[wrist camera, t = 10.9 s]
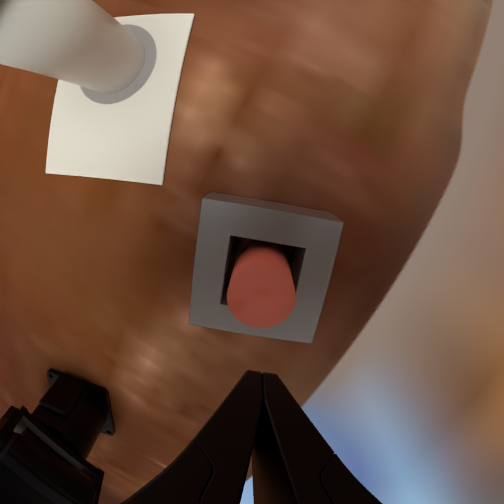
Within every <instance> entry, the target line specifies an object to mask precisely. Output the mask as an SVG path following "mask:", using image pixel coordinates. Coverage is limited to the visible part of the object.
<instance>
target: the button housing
mask: <svg viewBox="0 0 504 504" xmlns="http://www.w3.org/2000/svg"><path fill="white" fill-rule="evenodd" d="M343 224H344V223H343V222H342V221H341V220H340V219H338V218H337V217H336V216H335V215H333V214H332V213H331V212H326V211H321V210H316V209H310V208H305V207H300V206H295V205H289V204H284V203H278V202H272V201H267V200H261V199H255V198H249V197H243V196H237V195H230V194H224V193H217V192H211V193H209V194H208V195H206V196H205V197H203V198H202V205H201V212H200V220H199V228H198V236H197V244H196V253H195V262H194V271H193V281H192V291H191V302H190V313H189V324H191V325H196V326H201V327H207V328H212V329H218V330H223V331H229V332H235V333H241V334H248V335H254V336H261V337H267V338H274V339H281V340H289V341H297V342H305V343H312V340H313V337H314V334H315V331H316V327H317V324H318V320H319V317H320V313H321V310H322V306H323V303H324V299H325V296H326V292H327V288H328V285H329V281H330V277H331V273H332V269H333V265H334V261H335V257H336V253H337V249H338V245H339V241H340V237H341V232H342V228H343ZM233 236H237V237H243V238H249V239H255V240H261V241H267V242H273V243H279V244H285V245H290V246H296V247H297V248H296V253H295V257H294V262H293V266H292V271H291V275H292V279H293V284H294V288H295V293H296V301H295V305H294V308H293V310H292V312H291V313H290V315H289V316H288V317H287V318H286V319H285V320H284V321H282V322H281V323H279V324H277V325H275V326H272V327H267V328H255V327H251V326H248V325H246V324H244V323H242V322H240V321H239V320H238V319H237V318H236V317H235V316H234V315H233V314H232V312H231V311H230V309H229V306H228V302H227V291H228V287H229V283H226V281H227V274H228V268H229V261H230V254H231V248H232V241H233Z"/></svg>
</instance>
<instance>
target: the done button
mask: <svg viewBox="0 0 504 504" xmlns="http://www.w3.org/2000/svg"><path fill="white" fill-rule="evenodd" d="M295 301H296V293H295V288H294V284H293V279H292V275H291V271H290V266H289V262H288V259H287V256H286V254H285V253H284V251H283V250H282V249H281V248H280V247H278V246H277V245H275V244H273V243H270V242H266V241H258V242H253V243H251V244H249V245H247V246H245V247H244V248H243V249H242V250H241V251H240V252H239V254H238V256H237V258H236V261H235V265H234V268H233V272H232V276H231V280H230V283H229V287H228V291H227V302H228V306H229V309H230V311H231V312H232V314H233V315H234V316H235V317H236V318H237V319H238V320H239V321H240V322H242V323H244V324H246V325H248V326H251V327H255V328H267V327H272V326H275V325H277V324H279V323H281V322H282V321H284V320H285V319H286V318H287V317H288V316H289V315H290V313H291V312H292V310H293V308H294V305H295Z"/></svg>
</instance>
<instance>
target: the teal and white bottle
mask: <svg viewBox="0 0 504 504" xmlns="http://www.w3.org/2000/svg"><path fill="white" fill-rule="evenodd" d="M144 61H145V49H144V46H143V44H142V42H141V41H140V40H139V39H138V38H137V37H136V36H135V35H133V34H132V33H131V32H130V31H129V30H128V29H126V28H125V27H124V26H123V25H122V24H121V23H119V22H118V21H117V20H116V19H115V18H113V17H112V16H111V15H110V14H109V13H107V12H106V11H105V10H104V9H102V8H101V7H100V6H99V5H97V4H96V3H95V2H94V1H92V0H0V64H3V65H7V66H11V67H15V68H19V69H23V70H27V71H31V72H34V73H38V74H42V75H45V76H49V77H52V78H56V79H59V80H62V81H66V82H69V83H72V84H75V85H79V86H82V87H85V88H88V89H91V90H94V91H97V92H100V93H104V94H110V93H116V92H118V91H121V90H123V89H124V88H126V87H127V86H129V85H130V84H131V83H132V82H133V81H134V80H135V79H136V78H137V76H138V75H139V73H140V72H141V70H142V67H143V65H144Z"/></svg>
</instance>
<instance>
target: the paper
mask: <svg viewBox="0 0 504 504" xmlns="http://www.w3.org/2000/svg"><path fill="white" fill-rule="evenodd" d="M194 16H195V14H151V15H136V16H125V17H115V19H116V20H117V21H118V22H119V23H121V24H122V25H123V26H124V27H125V28H126V29H128V30H129V31H130V32H131V33H132V34H133V35H135V36H136V37H137V38H138V39H139V40H140V41H141V42H142V44H143V46H144V49H145V61H144V65H143V67H142V70H141V72H140V73H139V75H138V76H137V78H136V79H135V80H134V81H133V82H132V83H131V84H130V85H129V86H127V87H126V88H124V89H123V90H121V91H118V92H116V93H110V94H104V93H100V92H97V91H94V90H91V89H88V88H85V87H82V86H79V85H75V84H72V83H69V82H66V81H62V80H58V85H57V90H56V95H55V100H54V106H53V112H52V118H51V125H50V133H49V141H48V151H47V162H46V173H49V174H62V175H74V176H85V177H95V178H105V179H114V180H124V181H132V182H141V183H149V184H157V185H163V181H164V173H165V165H166V158H167V151H168V144H169V137H170V131H171V125H172V119H173V113H174V107H175V102H176V97H177V91H178V86H179V81H180V76H181V71H182V67H183V62H184V58H185V53H186V49H187V45H188V40H189V36H190V32H191V28H192V24H193V20H194Z"/></svg>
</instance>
